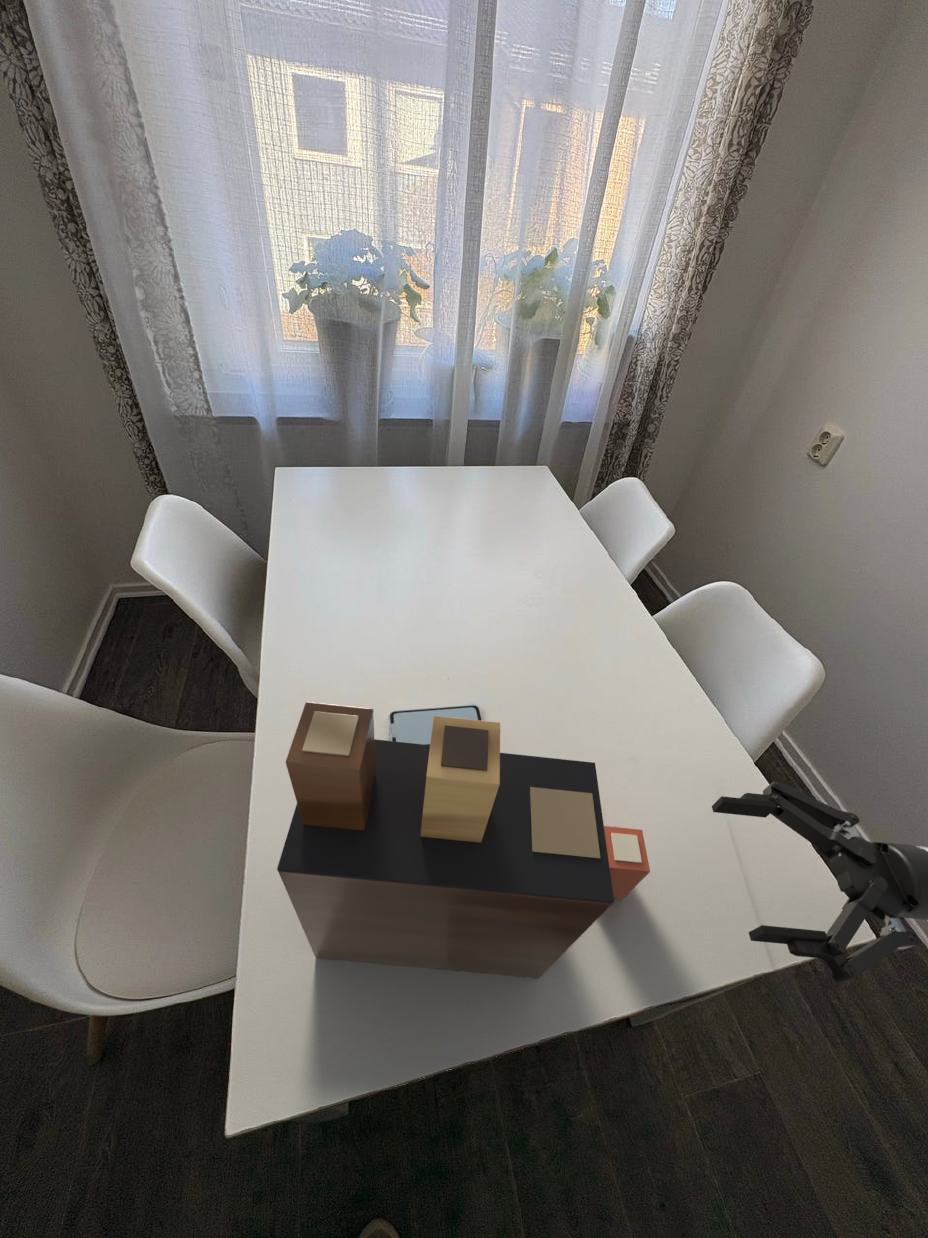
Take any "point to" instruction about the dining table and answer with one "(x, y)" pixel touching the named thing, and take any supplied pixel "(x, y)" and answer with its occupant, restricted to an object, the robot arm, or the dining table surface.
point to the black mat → (503, 862)
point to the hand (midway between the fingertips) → (734, 863)
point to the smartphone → (425, 721)
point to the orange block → (626, 859)
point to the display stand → (436, 925)
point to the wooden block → (333, 765)
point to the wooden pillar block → (461, 778)
